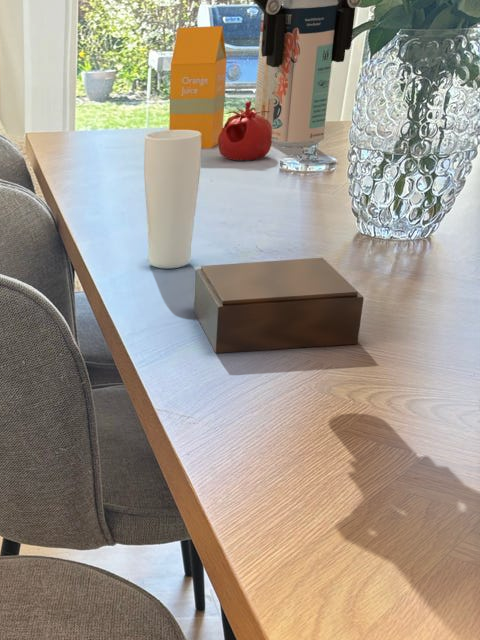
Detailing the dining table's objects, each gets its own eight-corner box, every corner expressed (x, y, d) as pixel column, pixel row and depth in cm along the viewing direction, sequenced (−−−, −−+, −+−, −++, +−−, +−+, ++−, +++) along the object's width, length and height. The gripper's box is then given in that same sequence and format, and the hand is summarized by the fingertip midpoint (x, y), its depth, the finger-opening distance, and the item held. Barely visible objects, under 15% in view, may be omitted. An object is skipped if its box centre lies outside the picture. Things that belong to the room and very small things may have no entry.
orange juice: (180, 140, 202) (183, 26, 190) (222, 140, 198) (229, 23, 187) (168, 147, 196) (171, 29, 184) (211, 148, 192) (217, 27, 181)
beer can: (273, 140, 95) (285, -9, 88) (325, 139, 93) (341, -13, 86) (267, 149, 91) (279, -6, 84) (321, 148, 90) (338, -10, 83)
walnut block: (320, 302, 109) (326, 255, 107) (357, 344, 98) (364, 292, 95) (193, 311, 110) (195, 264, 107) (215, 353, 99) (218, 302, 96)
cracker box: (294, 139, 194) (306, 13, 182) (263, 141, 194) (273, 16, 182) (281, 128, 205) (291, 9, 193) (251, 130, 206) (260, 12, 194)
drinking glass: (140, 258, 129) (142, 131, 121) (192, 255, 129) (198, 127, 120) (144, 273, 124) (147, 140, 115) (199, 269, 123) (205, 136, 115)
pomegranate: (255, 150, 187) (259, 95, 182) (281, 158, 179) (286, 100, 174) (207, 156, 185) (209, 100, 180) (230, 165, 177) (234, 106, 172)
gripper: (229, -199, 75) (216, 75, 86) (456, -219, 75) (415, 59, 85) (212, -188, 81) (201, 66, 92) (421, -206, 81) (386, 52, 91)
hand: (304, 60), depth 88 cm, fingers closed on beer can, 4 cm apart
